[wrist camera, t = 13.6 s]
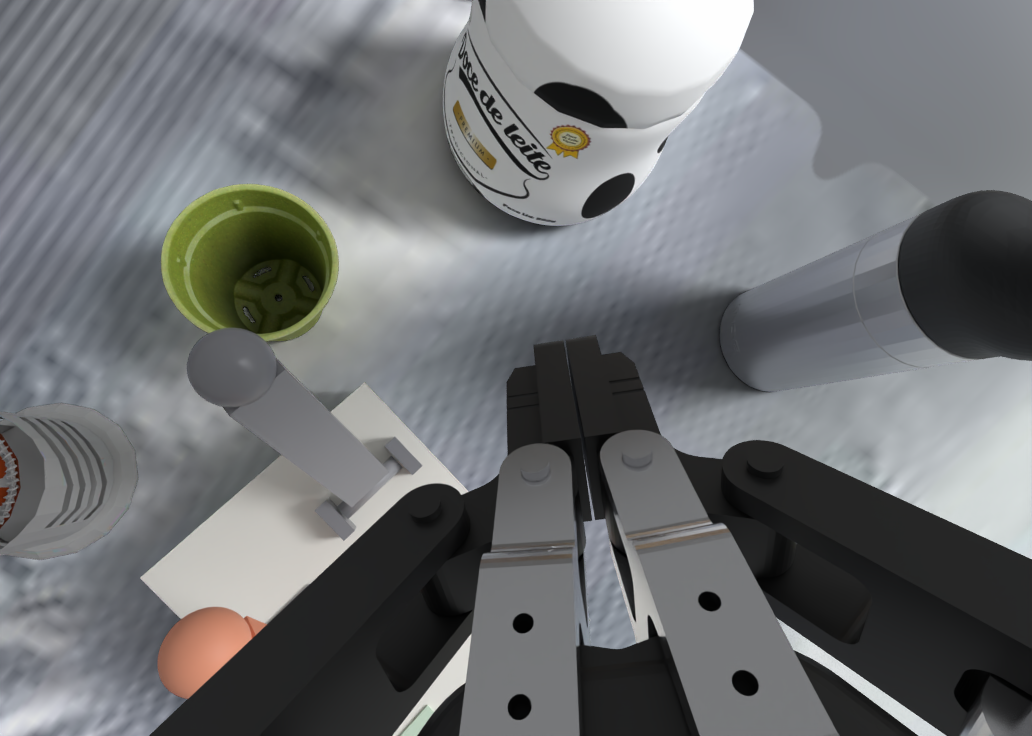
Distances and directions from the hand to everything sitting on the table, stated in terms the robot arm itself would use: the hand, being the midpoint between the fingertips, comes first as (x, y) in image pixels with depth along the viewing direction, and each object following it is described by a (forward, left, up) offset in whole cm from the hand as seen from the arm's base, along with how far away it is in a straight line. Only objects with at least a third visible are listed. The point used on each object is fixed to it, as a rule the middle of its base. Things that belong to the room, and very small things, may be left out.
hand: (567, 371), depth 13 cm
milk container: (-5, -25, -29) cm, 38 cm away
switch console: (+2, +12, -29) cm, 31 cm away
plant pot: (+13, -8, -29) cm, 33 cm away
